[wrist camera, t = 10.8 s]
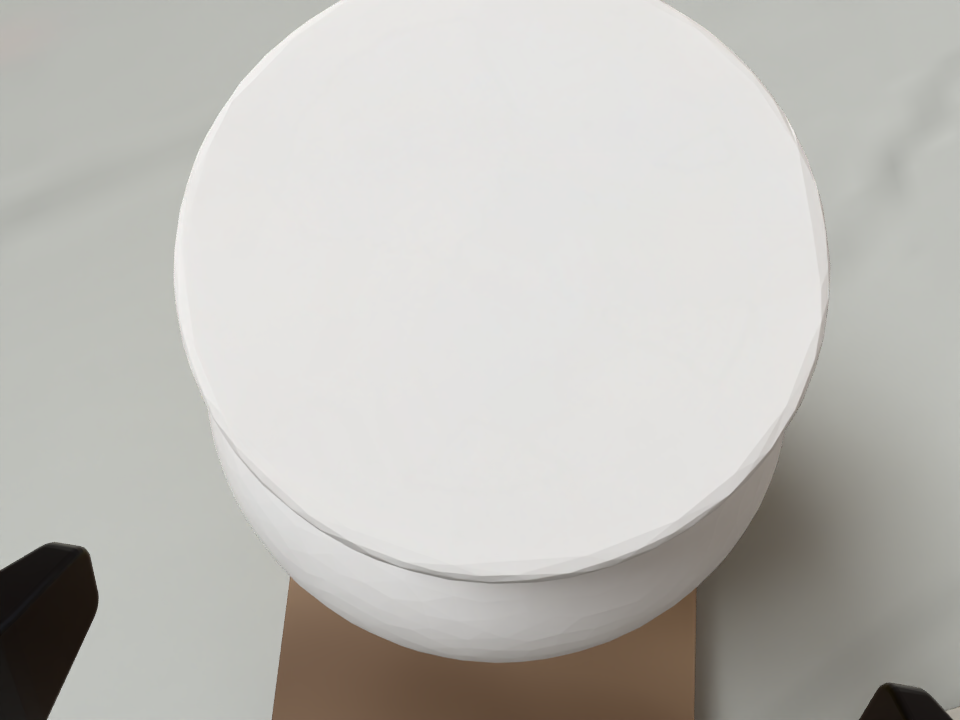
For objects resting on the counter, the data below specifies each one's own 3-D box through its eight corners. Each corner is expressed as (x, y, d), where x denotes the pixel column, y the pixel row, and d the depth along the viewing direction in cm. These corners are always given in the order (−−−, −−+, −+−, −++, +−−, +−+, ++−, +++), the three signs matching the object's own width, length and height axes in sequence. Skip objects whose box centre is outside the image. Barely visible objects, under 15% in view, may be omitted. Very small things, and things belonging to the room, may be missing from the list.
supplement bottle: (671, 359, 18) (1071, -19, 6) (590, 640, 17) (883, 931, 4) (404, 273, 19) (245, -245, 6) (304, 539, 18) (-150, 549, 5)
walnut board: (674, 816, 18) (692, 842, 16) (279, 780, 18) (261, 802, 16) (689, 165, 21) (704, 137, 20) (359, 141, 21) (350, 112, 20)
